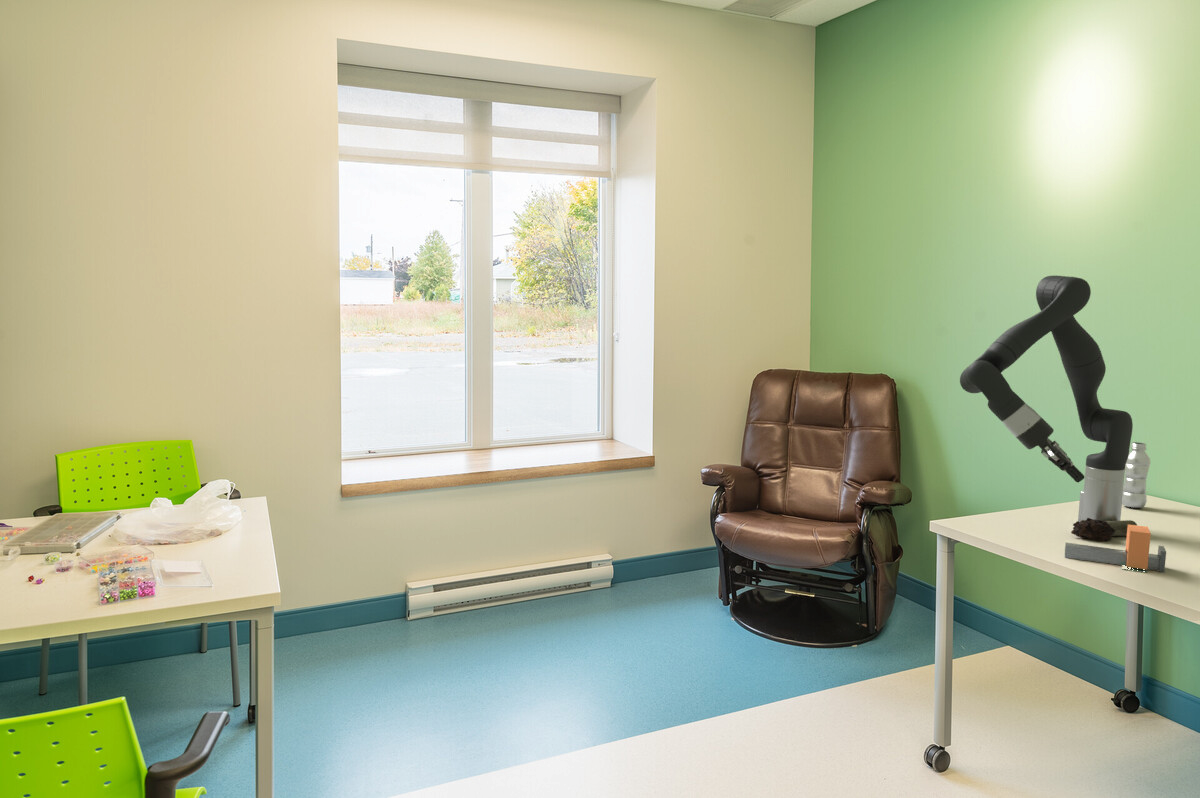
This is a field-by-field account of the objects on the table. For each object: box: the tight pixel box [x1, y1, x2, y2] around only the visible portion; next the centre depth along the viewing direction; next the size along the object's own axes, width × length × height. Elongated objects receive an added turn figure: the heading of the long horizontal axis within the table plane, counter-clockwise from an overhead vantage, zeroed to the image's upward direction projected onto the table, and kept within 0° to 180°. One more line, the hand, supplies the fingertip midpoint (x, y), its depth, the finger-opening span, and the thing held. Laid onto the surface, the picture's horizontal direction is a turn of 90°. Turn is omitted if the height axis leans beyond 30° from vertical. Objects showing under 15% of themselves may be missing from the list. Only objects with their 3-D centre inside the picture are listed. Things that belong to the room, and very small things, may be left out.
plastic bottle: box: [1122, 441, 1151, 509], centre depth 248 cm, size 6×7×20 cm
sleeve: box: [1125, 524, 1152, 570], centre depth 192 cm, size 4×7×9 cm, turn 151°
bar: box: [1064, 542, 1167, 574], centre depth 194 cm, size 20×10×5 cm, turn 61°
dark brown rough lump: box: [1070, 518, 1138, 542], centre depth 215 cm, size 18×7×6 cm, turn 103°
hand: (1081, 479), depth 196 cm, fingers closed
